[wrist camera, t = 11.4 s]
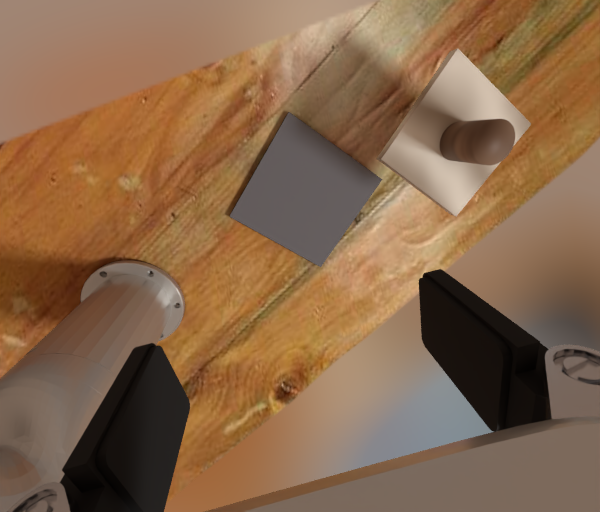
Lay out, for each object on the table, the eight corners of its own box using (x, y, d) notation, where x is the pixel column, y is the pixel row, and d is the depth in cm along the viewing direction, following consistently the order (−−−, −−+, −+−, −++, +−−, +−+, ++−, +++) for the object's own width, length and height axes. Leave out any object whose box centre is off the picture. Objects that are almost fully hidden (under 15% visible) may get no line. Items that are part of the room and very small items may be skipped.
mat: (320, 265, 41) (320, 266, 40) (229, 215, 37) (229, 216, 36) (380, 179, 37) (382, 179, 37) (288, 112, 33) (288, 112, 33)
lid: (449, 213, 33) (489, 230, 27) (376, 158, 29) (404, 164, 24) (521, 124, 30) (582, 121, 24) (449, 52, 27) (501, 29, 21)
